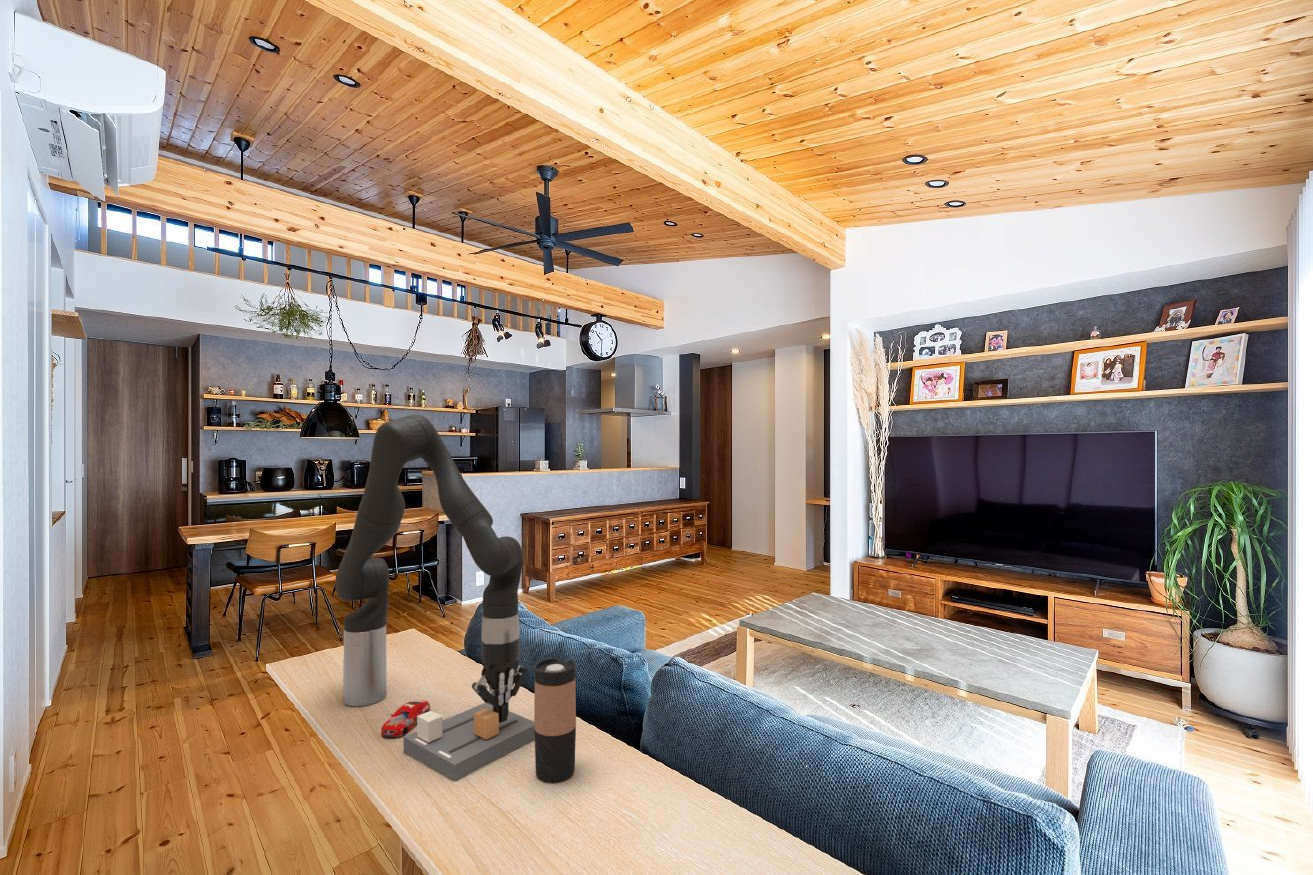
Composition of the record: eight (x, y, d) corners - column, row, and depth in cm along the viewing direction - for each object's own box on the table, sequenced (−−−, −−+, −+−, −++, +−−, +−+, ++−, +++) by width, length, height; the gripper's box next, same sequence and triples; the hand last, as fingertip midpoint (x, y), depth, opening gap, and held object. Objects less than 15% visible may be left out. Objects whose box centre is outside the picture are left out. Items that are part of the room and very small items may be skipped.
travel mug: (541, 788, 107) (541, 675, 107) (529, 767, 114) (529, 661, 114) (581, 777, 111) (581, 668, 111) (568, 757, 118) (567, 655, 118)
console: (403, 752, 120) (403, 736, 120) (486, 715, 136) (486, 701, 136) (454, 781, 110) (454, 764, 110) (538, 737, 126) (538, 722, 126)
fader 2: (473, 733, 121) (473, 713, 121) (486, 727, 123) (486, 708, 123) (486, 739, 118) (486, 719, 118) (498, 733, 121) (498, 713, 121)
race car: (399, 742, 125) (399, 723, 124) (375, 739, 126) (375, 720, 126) (434, 713, 137) (434, 695, 137) (413, 711, 139) (413, 693, 139)
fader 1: (417, 736, 119) (417, 716, 119) (430, 730, 122) (430, 710, 122) (428, 742, 117) (428, 721, 117) (442, 736, 119) (442, 716, 119)
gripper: (513, 624, 131) (513, 704, 131) (461, 641, 121) (461, 728, 121) (537, 631, 127) (537, 713, 127) (485, 649, 116) (485, 739, 116)
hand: (500, 720), depth 124 cm, fingers closed
